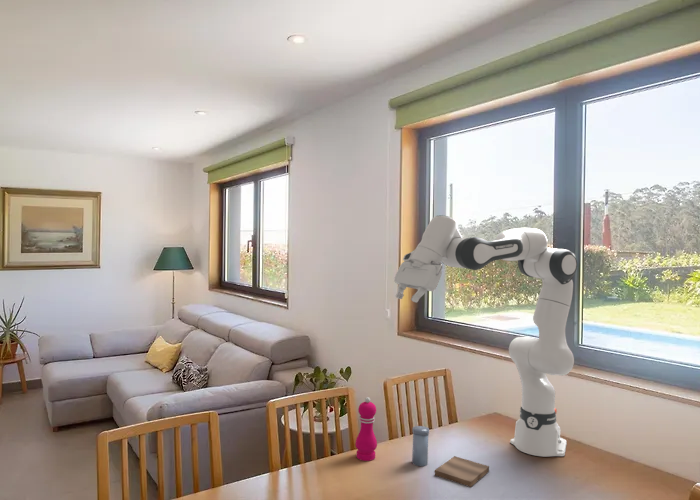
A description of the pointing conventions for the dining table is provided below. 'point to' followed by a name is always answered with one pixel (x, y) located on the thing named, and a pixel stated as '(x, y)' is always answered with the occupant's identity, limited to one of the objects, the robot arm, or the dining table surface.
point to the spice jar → (420, 446)
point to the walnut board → (462, 471)
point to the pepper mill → (366, 432)
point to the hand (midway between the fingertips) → (405, 299)
